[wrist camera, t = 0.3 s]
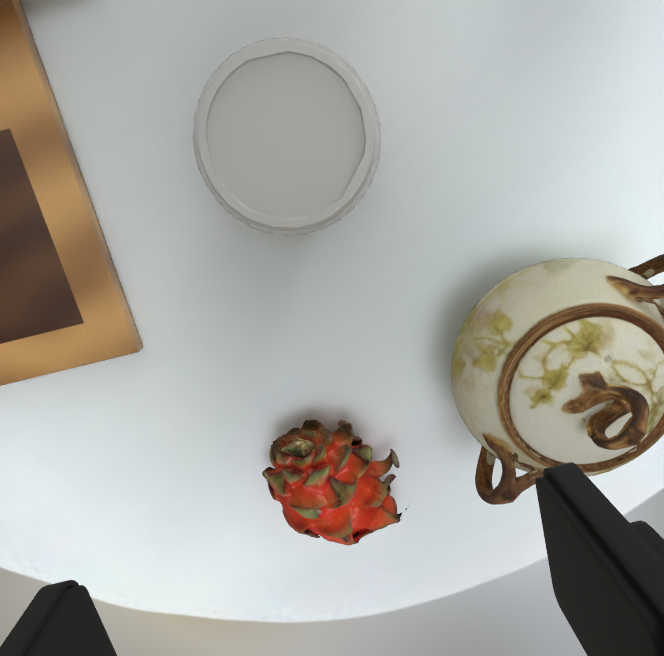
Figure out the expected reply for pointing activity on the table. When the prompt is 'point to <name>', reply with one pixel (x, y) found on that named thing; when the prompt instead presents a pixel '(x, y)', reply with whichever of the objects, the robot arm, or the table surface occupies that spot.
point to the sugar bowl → (562, 370)
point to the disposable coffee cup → (286, 136)
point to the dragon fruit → (331, 483)
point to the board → (48, 231)
